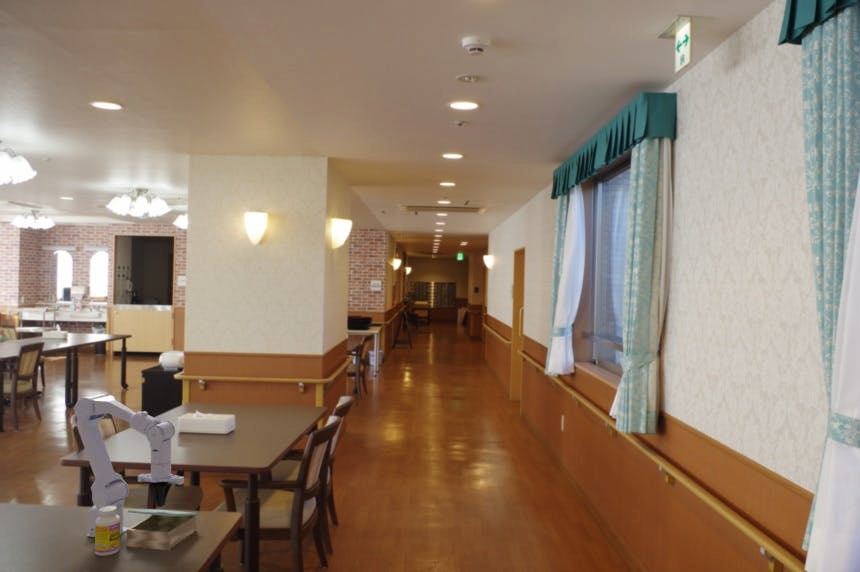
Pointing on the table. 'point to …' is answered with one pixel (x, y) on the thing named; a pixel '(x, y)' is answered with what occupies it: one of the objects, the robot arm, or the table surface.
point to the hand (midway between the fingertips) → (160, 505)
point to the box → (161, 531)
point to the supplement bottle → (107, 531)
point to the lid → (162, 512)
